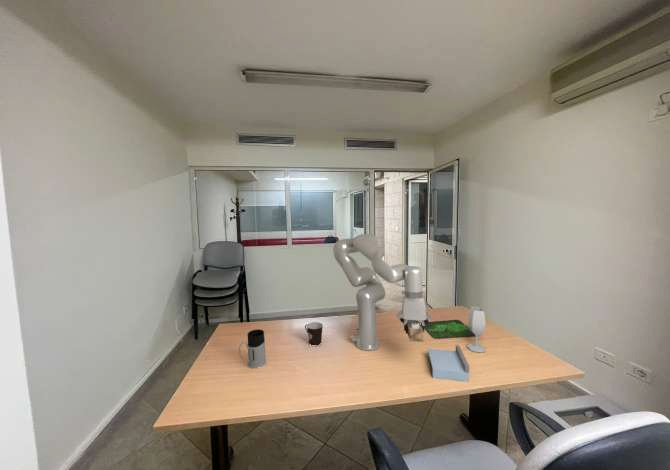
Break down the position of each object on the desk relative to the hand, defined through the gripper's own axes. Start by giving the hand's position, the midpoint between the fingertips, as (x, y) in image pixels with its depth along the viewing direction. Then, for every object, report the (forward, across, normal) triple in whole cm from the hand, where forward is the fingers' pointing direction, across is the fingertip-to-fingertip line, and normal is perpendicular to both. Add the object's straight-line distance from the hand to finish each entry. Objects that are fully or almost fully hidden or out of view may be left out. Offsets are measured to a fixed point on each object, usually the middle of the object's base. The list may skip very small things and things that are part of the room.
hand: (414, 332), depth 120 cm
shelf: (+16, +14, +1) cm, 21 cm away
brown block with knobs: (+1, 0, 0) cm, 1 cm away
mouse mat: (+16, +21, +43) cm, 50 cm away
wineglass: (+16, +32, +22) cm, 42 cm away
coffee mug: (+15, -52, +12) cm, 56 cm away
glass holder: (+15, -74, -15) cm, 77 cm away
